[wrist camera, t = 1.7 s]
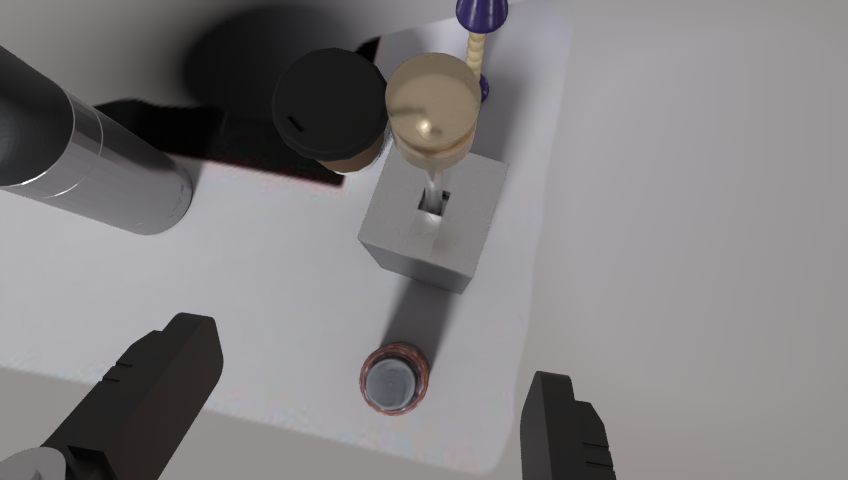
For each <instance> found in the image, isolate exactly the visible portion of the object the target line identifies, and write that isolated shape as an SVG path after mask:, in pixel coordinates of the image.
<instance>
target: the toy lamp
mask: <svg viewBox="0 0 848 480" xmlns="http://www.w3.org/2000/svg"><path fill="white" fill-rule="evenodd" d="M507 14H508V2H507V0H458V1H457V5H456V16H457V19H458V21H459V23H460V24H461V25H462V26H463V27H464V28H465V29H466V30H468V31H469V38H468V48H467V58H466V64H467V65H468V66H469V67H470V68H471V69H472V71H473V72H474V74H475V75H476V77H477V79H478V81H479V84H480V88H481V103H482V102H483V101H484V100H485V99H486V97H487V95H488V92H489V87H488V83H487V80H486V78H485V77H484V76H483V75H482V74H480V73H481V70H482V67H481V65H482V63H483V54H484V45H485V42H486V38H485V36H486V34H487V33H490V32H493V31H495V30H497V29H498V28H500V27H501V26H502V25H503V24H504V22H505V20H506V18H507Z"/></svg>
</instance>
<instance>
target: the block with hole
mask: <svg viewBox="0 0 848 480" xmlns="http://www.w3.org/2000/svg"><path fill="white" fill-rule="evenodd" d="M508 167H509V164H506V163H503V162H499V161H496V160H493V159H490V158H486V157H483V156H480V155H477V154H473V153H470V152H468V153H467V155H466V156H465V157H464V158H463V159H462V160H461V161H460V162H459V163H457V164H456V165H454V166H452V167H449V168H447V169H444V175H443V194H444V195H447V196H450V197H449V200H448V203H447V206H446V209H445V212H444V215H443V217H440V216H437V215H434V214H431V213H428V212H425V211H422V210H419V207H420V204H421V202H422V199H423V196H424V193H425V178H424V169H420V168H417V167H415V166H413V165H411V164H410V163H408V162H407V161H406V160H405V159H404V158H403V157H402V156H401V155H400V154H399V152H398V150H397V149H396V146H395V143H394V141H393V143H392V146H391V149H390V151H389V154H388V157H387V159H386V162H385V165H384V167H383V170H382V173H381V175H380V178H379V181H378V183H377V186H376V189H375V191H374V194H373V197H372V199H371V202H370V205H369V208H368V210H367V213H366V216H365V218H364V221H363V224H362V226H361V229H360V232H359V234H358V237H357V239H358V240H359V241H360V242H361V243H362V245H363V246H364V247H365V248H366V249H367V251H368V252H369V253H370V254H371V255H372V257H373V258H374V259H375V260H376V261H377V263H378V264H379V265H380V266H381V267H382V268H384V269H387V270H390V271H393V272H396V273H399V274H401V275H404V276H407V277H410V278H413V279H416V280H419V281H422V282H425V283H428V284H431V285H434V286H437V287H440V288H443V289H446V290H449V291H452V292H455V293H458V294H462V293H463V291H464V290H465V288H466V287H467V285H468V284H469V282H470V281H471V280H472V278H473V277H474V274H475V270H476V267H477V264H478V261H479V258H480V255H481V252H482V248H483V245H484V242H485V239H486V236H487V233H488V230H489V226H490V223H491V220H492V217H493V214H494V211H495V208H496V204H497V201H498V198H499V195H500V192H501V189H502V186H503V182H504V179H505V176H506V173H507V170H508Z"/></svg>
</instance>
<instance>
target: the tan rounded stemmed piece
mask: <svg viewBox="0 0 848 480" xmlns="http://www.w3.org/2000/svg"><path fill="white" fill-rule="evenodd" d="M385 101H386V107H387V112H388V117H389V121H390V126H391V131H392V135H393V140H394V143H395V146H396V149H397V150H398V152H399V154H400V155H401V156H402V157H403V158H404V159H405V160H406V161H407V162H408V163H410V164H411V165H413V166H415V167H417V168H420V169H424V178H425V193H424V196H423V199H422V202H421V204H420V207H419V210H422V211H425V212H428V213H431V214H434V215H437V216H440V217H443V215H444V212H445V209H446V206H447V203H448V200H449V197H450V196H447V195H444V194H443V175H444V169H447V168H449V167H452V166H454V165H456V164H457V163H459V162H460V161H461V160H462V159H463V158H464V157H465V156H466V155H467V153H468V152H469V150H470V149H471V146H472V144H473V140H474V135H475V130H476V125H477V120H478V115H479V110H480V105H481V88H480V84H479V81H478V79H477V77H476V75H475V74H474V72H473V71H472V69H471V68H470V67H469V66H468V65H467V64H465V63H464V62H463V61H461V60H460V59H458V58H456V57H454V56H451V55H448V54H444V53H423V54H420V55H416V56H414V57H411V58H410V59H408V60H406V61H405V62H403V63H402V64H401V65H400V66H399V67H397V69H396V70H395V71H394V72H393V74H392V75H391V77H390V79H389V81H388V84H387V87H386V93H385Z"/></svg>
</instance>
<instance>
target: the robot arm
mask: <svg viewBox="0 0 848 480" xmlns="http://www.w3.org/2000/svg"><path fill="white" fill-rule="evenodd" d="M0 189H1V190H5V191H8V192H11V193H14V194H17V195H20V196H23V197H26V198H29V199H33V200H36V201H39V202H42V203H45V204H48V205H51V206H54V207H57V208H60V209H63V210H66V211H69V212H72V213H75V214H78V215H81V216H84V217H87V218H90V219H93V220H96V221H99V222H102V223H105V224H108V225H111V226H114V227H117V228H120V229H124V230H127V231H130V232H133V233H136V234H142V235H151V234H157V233H160V232H163V231H165V230H167V229H169V228H171V227H172V226H173V225H175V224H176V223H177V222H178V221H179V220H180V219H181V218H182V217H183V215H184V214H185V212H186V210H187V209H188V206H189V203H190V200H191V194H192V188H191V182H190V179H189V176H188V174H187V173H186V171H185V170H184V168H183V167H181V166H180V165H179V164H178V163H177V162H175V161H174V160H172V159H171V158H169V157H168V156H166V155H165V154H163V153H161V152H160V151H159V150H157V149H156V148H154V147H153V146H151V145H150V144H148V143H147V142H145V141H144V140H142V139H140V138H139V137H137V136H136V135H134V134H133V133H131V132H130V131H128V130H127V129H125V128H124V127H122V126H121V125H119V124H118V123H116V122H115V121H113V120H112V119H110V118H109V117H107V116H105V115H104V114H102V113H101V112H99V111H98V110H96V109H95V108H93V107H92V106H90V105H89V104H87V103H86V102H84V101H82V100H81V99H79V98H78V97H76V96H75V95H73V94H72V93H70V92H68V91H67V90H65V89H64V88H62V87H61V86H59V85H58V84H56V83H54V82H53V81H52V80H50V79H49V78H47V77H46V76H44V75H42V74H41V73H39V72H38V71H36V70H35V69H34V68H32V67H31V66H29V65H28V64H26V63H25V62H24V61H22V60H21V59H19V58H17V57H16V56H15V55H14V54H12V53H10V52H9V51H8V50H6V49H5V48H3V47H2V46H0ZM222 369H223V354H222V350H221V345H220V341H219V336H218V332H217V327H216V323H215V320H214V319H213V318H212V317H208V316H202V315H196V314H189V313H183V312H182V313H179V314H177V315H176V316H175V317H174V318H173V319H172V320H171V321H170V322H169V323H168V325H167V326H166V327H165V328H164V329H163V331H156V330H153V331H152V332H150V333H149V334H147V335H146V336H144V337H142V338H141V339H139V340H138V341H136V342H135V343H133V344H132V345H131V346H130V347H129V348H128V349H127V350H126V352H125V353H124V354H123V355H122V356H121V357H120V358H119V359H118V361H117V362H116V365H115V366H112V367H111V368H110V370H109V371H108V372H107V373H106V374H105V375H104V376H103V379H102V381H99V382H98V383H97V384H96V385H95V386H94V388H93V389H92V390H91V391H90V392H89V393H88V394H87V396H86V397H85V398H84V399H83V400H82V401H81V402H80V403H79V404H78V406H77V407H76V408H75V409H74V410H73V411H72V412H71V413H70V415H69V416H68V417H67V418H66V419H65V420H64V421H63V422H62V424H61V425H60V426H59V427H58V428H57V429H56V430H55V432H54V433H53V434H52V435H51V436H50V437H49V438H48V439H47V440H46V441H45V442H44V443H43V444H42V445H41V446H40V447H37V448H31V449H28V450H24V451H21V452H19V453H16V454H14V455H12V456H10V457H8V458H7V459H5V460H3V461H2V462H0V480H158V478H159V476H160V475H161V473H162V471H163V470H164V468H165V467H166V465H167V464H168V462H169V460H170V459H171V457H172V455H173V454H174V452H175V451H176V449H177V447H178V446H179V444H180V442H181V441H182V439H183V437H184V436H185V434H186V433H187V431H188V429H189V428H190V426H191V425H192V423H193V422H194V420H195V418H196V417H197V415H198V413H199V412H200V410H201V409H202V407H203V405H204V404H205V402H206V400H207V399H208V397H209V396H210V394H211V392H212V391H213V389H214V388H215V386H216V384H217V383H218V381H219V378H220V376H221V373H222ZM520 442H521V459H522V476H523V477H522V478H523V480H616V475H615V471H613V462H612V458H611V454H610V451H609V445H608V441H607V436H606V432H605V427H604V424H603V422H602V421H601V419H600V417H599V416H598V414H597V413H596V411H595V410H594V408H593V406H592V405H591V403H589V402H583V401H576V400H575V399H574V393H573V387H572V382H571V379H570V377H569V376H567V375H561V374H555V373H548V372H542V371H537V372H536V373H535V375H534V378H533V381H532V384H531V387H530V390H529V392H528V395H527V398H526V401H525V404H524V407H523V410H522V415H521V424H520Z"/></svg>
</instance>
